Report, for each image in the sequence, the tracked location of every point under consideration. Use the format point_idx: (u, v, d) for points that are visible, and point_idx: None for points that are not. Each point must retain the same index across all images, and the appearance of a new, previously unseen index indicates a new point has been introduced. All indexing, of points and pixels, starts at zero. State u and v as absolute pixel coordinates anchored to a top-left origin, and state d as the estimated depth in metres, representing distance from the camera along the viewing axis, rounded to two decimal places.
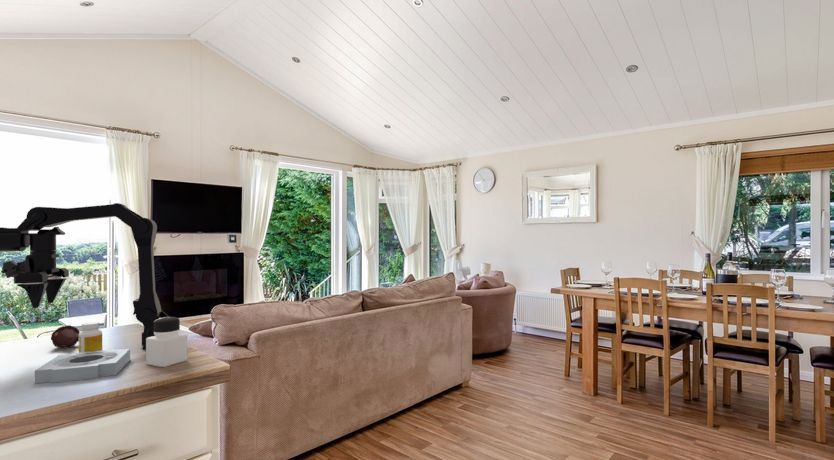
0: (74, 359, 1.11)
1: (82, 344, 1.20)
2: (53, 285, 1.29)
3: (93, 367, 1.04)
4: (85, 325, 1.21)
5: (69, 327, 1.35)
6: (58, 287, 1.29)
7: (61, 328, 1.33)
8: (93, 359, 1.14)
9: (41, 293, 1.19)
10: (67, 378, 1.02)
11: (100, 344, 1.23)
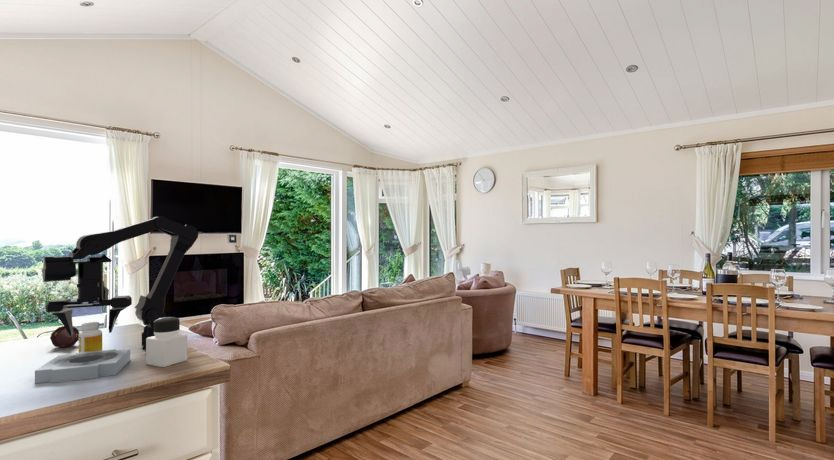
0: (74, 359, 1.11)
1: (82, 344, 1.20)
2: None
3: (93, 367, 1.04)
4: (85, 325, 1.21)
5: None
6: (109, 317, 1.23)
7: (60, 328, 1.33)
8: (93, 359, 1.14)
9: None
10: (67, 378, 1.02)
11: (100, 344, 1.23)
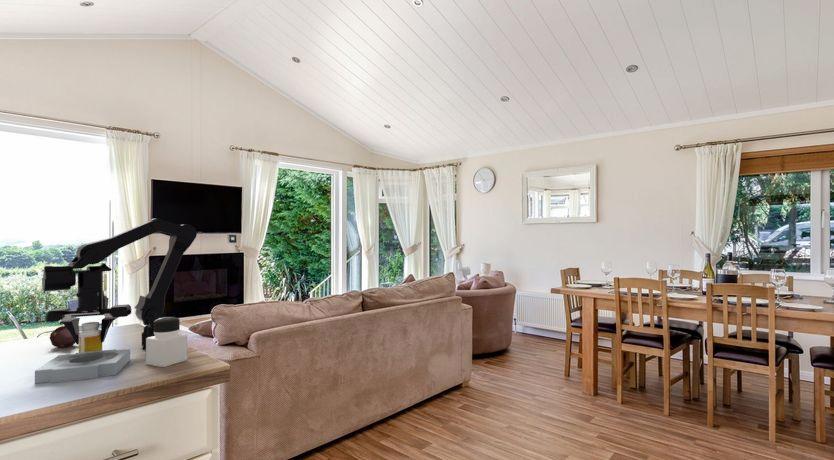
0: (74, 359, 1.11)
1: (82, 344, 1.20)
2: None
3: (93, 367, 1.04)
4: (85, 325, 1.21)
5: None
6: None
7: (60, 328, 1.33)
8: (93, 359, 1.14)
9: None
10: (67, 378, 1.02)
11: (100, 344, 1.23)
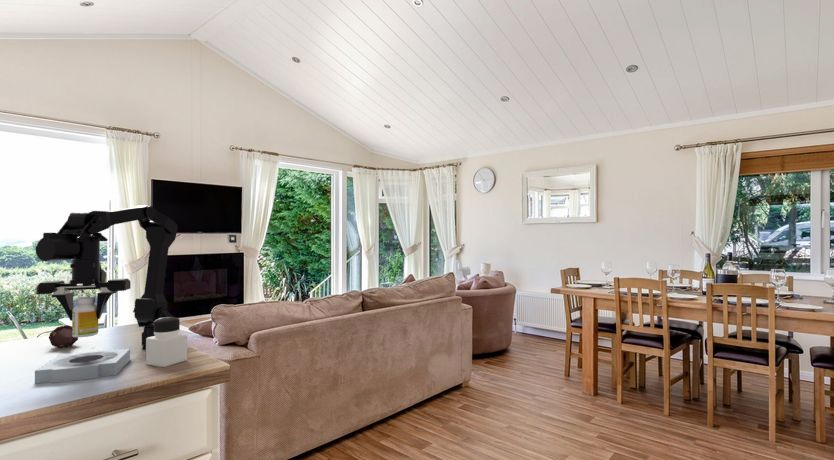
0: (74, 359, 1.11)
1: (76, 320, 1.09)
2: None
3: (93, 367, 1.04)
4: (80, 299, 1.10)
5: (67, 327, 1.35)
6: None
7: (59, 328, 1.33)
8: (93, 359, 1.14)
9: None
10: (67, 378, 1.02)
11: (96, 321, 1.12)
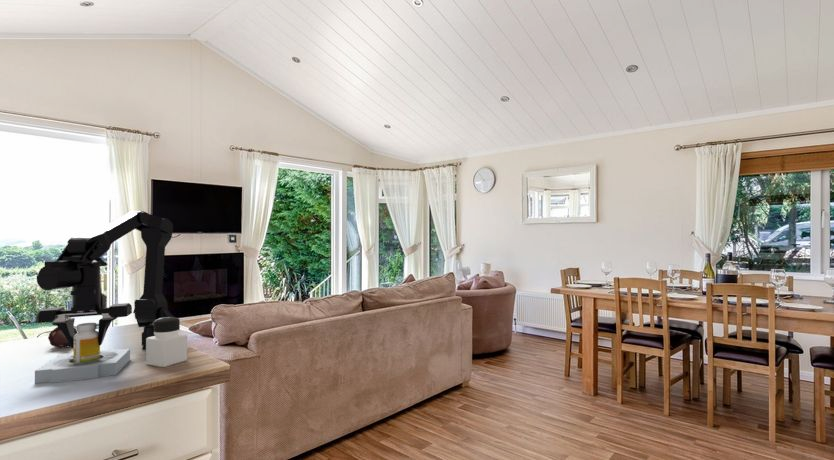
0: None
1: (77, 347, 1.08)
2: None
3: (93, 367, 1.04)
4: (81, 326, 1.09)
5: None
6: None
7: (58, 328, 1.33)
8: None
9: None
10: (67, 378, 1.02)
11: (97, 347, 1.11)
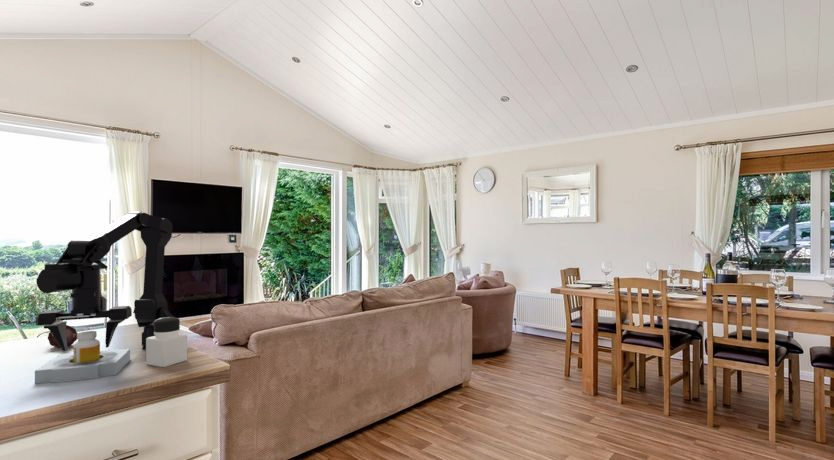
0: None
1: (77, 356, 1.08)
2: None
3: (93, 367, 1.04)
4: (81, 335, 1.09)
5: (66, 327, 1.35)
6: (106, 331, 1.11)
7: None
8: None
9: None
10: (67, 378, 1.02)
11: (97, 356, 1.11)
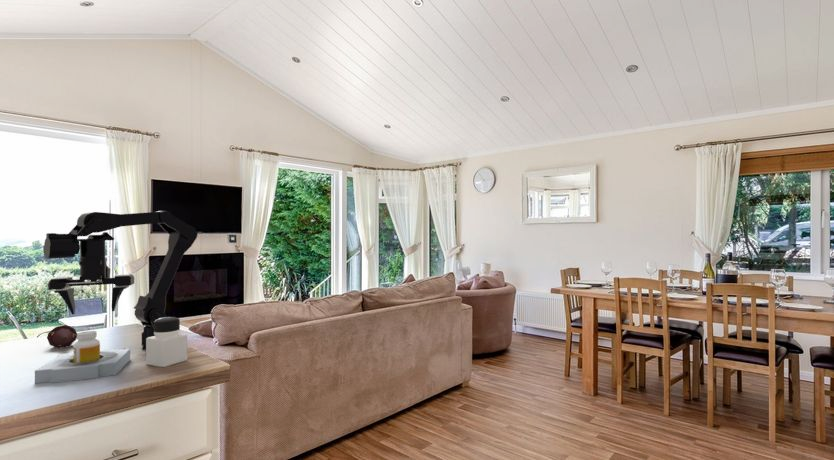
0: None
1: (77, 356, 1.08)
2: None
3: (93, 367, 1.04)
4: (81, 335, 1.09)
5: (65, 327, 1.35)
6: None
7: (57, 328, 1.34)
8: None
9: (64, 300, 1.17)
10: (67, 378, 1.02)
11: (97, 356, 1.11)
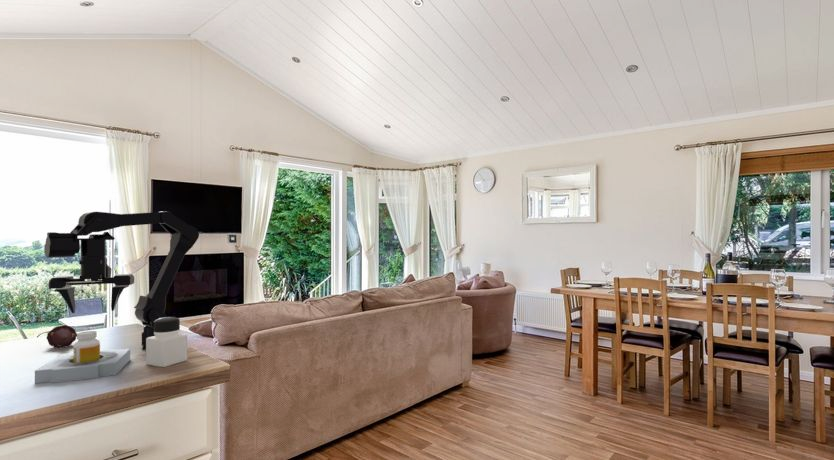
0: None
1: (77, 356, 1.08)
2: None
3: (93, 367, 1.04)
4: (81, 335, 1.09)
5: (65, 327, 1.35)
6: (112, 295, 1.22)
7: (57, 328, 1.34)
8: None
9: (64, 299, 1.18)
10: (67, 378, 1.02)
11: (97, 356, 1.11)
